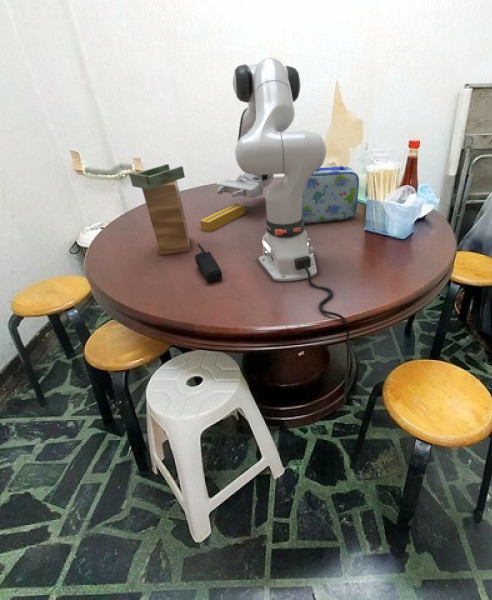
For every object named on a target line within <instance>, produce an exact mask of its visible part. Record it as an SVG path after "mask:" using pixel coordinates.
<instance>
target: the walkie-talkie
mask: <svg viewBox="0 0 492 600" xmlns="http://www.w3.org/2000/svg"><path fill="white" fill-rule="evenodd" d="M197 246H198V248H199V249H200V252H198V253H197V254H195V255H194V260H195V263H196V266H197V267H198V269H199V270H200V272H201V274H202V276H203V277H204V278H205V280H206V281H207V282H208V283H211V282H214V281H218V280H222V279H223V273H222V270H221V267H220V266H219V264H218V262H217V261H216V259H215V258H214V256H213V254H212V253H211V252H210V251H205V249H204V247H202V246H201V244H200V243H198V244H197Z"/></svg>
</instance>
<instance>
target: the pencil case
mask: <svg viewBox="0 0 492 600" xmlns="http://www.w3.org/2000/svg"><path fill="white" fill-rule="evenodd" d="M245 210H246V209H245V205H244V204H242V203H237V202H236V203H233V204H232V205H229V206H227V207H225V208H223V209H221V210H218V211H216V212H214V213H213V214H211V215H209V216H206V217H204V218H201V219H200V220H199V223H200V228H201V230H202V231H206V232H209V233H210V232H211V233H212V232H213V231H215V230H216V229H218V228H221V227H222V226H224V225H226V224H228V223H230V222H232V221H234V220H235V219H237V218H240V217H242V216H243V215H245V214H246V211H245Z"/></svg>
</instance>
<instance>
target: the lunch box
mask: <svg viewBox="0 0 492 600" xmlns="http://www.w3.org/2000/svg"><path fill="white" fill-rule="evenodd" d="M359 177H360V176H359V175H358V174H357V172H356V171H354V170H353V169H352V168H351V167H349V166H344V165H339V166H332V167H320V168H319V169H318V170H316V171H315V172H314V173H313V174H312V176H311V177H310V178H309V180H308V181H307V183H306V185H305V188H304V191H303V196H302V216H303V221H304V224H314V223H315V224H316V223H317V224H319V223H326V222H335V221H347V220H350V219H352V218H354V216H356V212H357V207H358V199H359V188H360V178H359Z"/></svg>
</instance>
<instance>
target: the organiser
mask: <svg viewBox="0 0 492 600" xmlns="http://www.w3.org/2000/svg"><path fill="white" fill-rule="evenodd" d="M184 171H185V170H184V167H183V166H177V167H173V168H170V165H169V164H168V163H166V164H162V165H159V166H156V167H151V168H149V169H145V170H142V171H139V172H136V173H135V172H129V173H128V175H129V179H130V182H131V186H132V187H133V188H140V189H141V190H142V194H143V197H144V201H145V205H146V207H147V211H148V214H149V219H150V223H151V225H152V229H153V232H154V237H155V240H156V243H157V247H158V250H159V255H160V256H161V255H169V254H177V253H186V252H190V251H191V238H190V233H189V229H188V225H187V220H186V216H185V210H184V206H183V201H182V196H181V193H180V188H179V184H178V180H181V179H184V178H186V175H185V172H184Z"/></svg>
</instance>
